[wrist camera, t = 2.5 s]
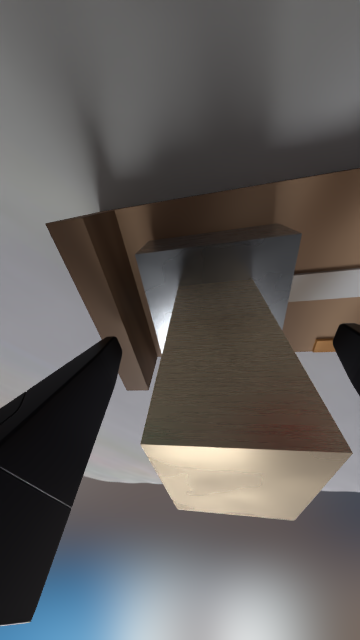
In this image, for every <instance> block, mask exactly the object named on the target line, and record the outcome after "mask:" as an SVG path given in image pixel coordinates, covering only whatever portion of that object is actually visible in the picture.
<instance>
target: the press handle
mask: <svg viewBox="0 0 360 640" xmlns="http://www.w3.org/2000/svg"><path fill="white" fill-rule="evenodd" d="M301 236H302V233H300V232H298V231H295V230H293V229H291V228H288V227H286V226H284V225H281V224H279V223H276V224H269V225H261V226H254V227H247V228H239V229H232V230H225V231H218V232H210V233H203V234H196V235H188V236H181V237H174V238H166V239H159V240H152V241H148V242H147V243H146V244H145V245H144V246H143V247H142V248H141V249H140V250H139V251H138V252H137V253H136V254H135V257H136V261H137V264H138V268H139V272H140V275H141V279H142V283H143V286H144V290H145V294H146V298H147V301H148V305H149V309H150V312H151V316H152V320H153V323H154V327H155V331H156V334H157V338H158V342H159V345H160V349H161V353H162V356H161V361H160V365H159V369H158V373H157V377H156V381H155V386H154V390H153V394H152V398H151V402H150V406H149V411H148V415H147V419H146V423H145V427H144V432H143V436H142V440H141V446H142V448H143V450H144V451H145V453H146V455H147V457H148V458H149V460H150V462H151V464H152V465H153V467H154V469H155V471H156V472H157V474H158V476H159V478H160V479H161V481H162V483H163V485H164V486H165V488H166V489H167V491H168V493H169V495H170V497H171V498H172V500H173V502H174V504H175V505H176V507H177V509H179V510H190V511H200V512H210V513H221V514H231V515H242V516H253V517H263V518H273V519H284V520H295V519H296V518H297V517H298V516H299V515H300V513H301V512H302V511H303V510H304V509H305V508H306V506H307V505H308V504H309V503H310V502H311V501H312V500H313V499H314V497H315V496H316V495H317V494H318V493H319V492H320V490H321V489H322V488H323V487H324V486H325V485H326V484H327V482H328V481H329V480H330V479H331V478H332V477H333V476H334V474H335V473H336V472H337V471H338V470H339V469H340V467H341V466H342V465H343V464H344V463H345V462H346V461H347V459H348V458H349V457H350V456H351V455H352V454H353V453H352V451H351V449H350V447H349V446H348V444H347V442H346V440H345V439H344V437H343V435H342V433H341V432H340V430H339V428H338V426H337V425H336V423H335V421H334V420H333V418H332V416H331V414H330V413H329V411H328V409H327V407H326V406H325V404H324V402H323V400H322V399H321V397H320V395H319V394H318V392H317V390H316V388H315V387H314V385H313V383H312V381H311V380H310V378H309V376H308V374H307V373H306V371H305V369H304V368H303V366H302V364H301V362H300V361H299V359H298V357H297V355H296V354H295V352H294V350H293V348H292V347H291V345H290V343H289V341H288V340H287V338H286V336H285V335H284V333H283V331H282V329H283V325H284V320H285V315H286V310H287V305H288V300H289V295H290V290H291V285H292V280H293V275H294V270H295V266H296V261H297V256H298V251H299V246H300V241H301Z"/></svg>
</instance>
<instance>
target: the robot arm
mask: <svg viewBox="0 0 360 640" xmlns="http://www.w3.org/2000/svg"><path fill="white" fill-rule="evenodd" d="M333 346H334V349H335V351H336V353H337V355H338V357H339V359H340V361H341V363H342V365H343V367H344V369H345V371H346V373H347V375H348V377H349V379H350V381H351V383H352V384H353V386H354V388H355V389H356V391H357V393H358V394H359V396H360V325H359V324H356V323H342V324H340V325H339V326H338V329H337V331H336V334H335V336H334V338H333ZM121 358H122V348H121V346H120V343H119V341H118V339H117V337H115V336H108V337H105V338H104V339H102V340H101V341H99V342H98V343H96V344H95V345H94V346H92V347H91V348H89V349H88V350H86V351H85V352H83V353H82V354H80V355H79V356H77V357H76V358H74V359H73V360H71V361H70V362H68V363H67V364H65V365H64V366H63V367H61V368H60V369H58V370H57V371H55V372H54V373H52V374H51V375H49V376H48V377H46V378H45V379H43V380H42V381H40V382H39V383H37V384H36V385H35V386H33V387H32V388H30V389H29V390H27V392H24V393H23V394H21V395H20V396H18V397H17V398H15V399H14V400H12V401H11V402H9V403H8V404H6V405H5V406H3V407H2V408H0V626H6V625H14V624H22V623H29V622H31V620H32V617H33V615H34V612H35V610H36V607H37V604H38V601H39V599H40V596H41V593H42V590H43V587H44V585H45V582H46V579H47V576H48V573H49V571H50V567H51V565H52V562H53V559H54V556H55V554H56V551H57V548H58V545H59V542H60V540H61V537H62V534H63V531H64V528H65V525H66V523H67V520H68V517H69V514H70V511H71V507H72V505H73V502H74V499H75V497H76V494H77V491H78V488H79V485H80V483H81V480H82V477H83V474H84V471H85V468H86V466H87V463H88V460H89V457H90V454H91V452H92V449H93V446H94V443H95V440H96V437H97V435H98V432H99V429H100V426H101V423H102V420H103V418H104V415H105V412H106V409H107V406H108V404H109V401H110V398H111V395H112V392H113V389H114V386H115V383H116V379H117V375H118V371H119V367H120V362H121Z"/></svg>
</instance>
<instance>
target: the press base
mask: <svg viewBox="0 0 360 640" xmlns="http://www.w3.org/2000/svg"><path fill="white" fill-rule="evenodd" d="M276 223H279V224H281V225H284V226H286V227H288V228H291V229H293V230H295V231H298V232H300V233H302V236H301V241H300V246H299V251H298V256H297V261H296V266H295V270H294V275H293V280H292V285H291V290H290V295H289V300H288V305H287V310H286V315H285V320H284V325H283V329H282V331H283V333H284V335H285V336H286V338H287V340H288V341H289V343H290V345H291V347H292V348H293V350H294V352H306V351H313V352H336V351H335V349H334V346H333V338H334V336H335V334H336V331H337V329H338V326H339V325H340V324H342V323H356V324H359V325H360V168H356V169H350V170H344V171H338V172H332V173H326V174H321V175H315V176H309V177H303V178H297V179H291V180H285V181H279V182H273V183H268V184H262V185H256V186H250V187H244V188H238V189H232V190H226V191H220V192H214V193H209V194H203V195H197V196H191V197H185V198H179V199H173V200H167V201H161V202H155V203H150V204H144V205H138V206H132V207H126V208H120V209H114V210H108V211H102V212H97V213H92V214H88V215H83V216H78V217H74V218H69V219H64V220H60V221H55V222H50V223H46V226H47V228H48V230H49V232H50V234H51V236H52V238H53V240H54V243H55V245H56V247H57V249H58V251H59V253H60V255H61V257H62V259H63V261H64V263H65V265H66V267H67V269H68V271H69V273H70V275H71V277H72V279H73V281H74V283H75V285H76V287H77V290H78V292H79V294H80V296H81V298H82V300H83V302H84V304H85V306H86V308H87V310H88V312H89V314H90V316H91V318H92V320H93V322H94V324H95V326H96V328H97V330H98V332H99V334H100V337H101V339H104V338H105V337H108V336H115V337H117V339H118V341H119V343H120V346H121V348H122V358H121V362H120V367H119V371H118V373H119V375H120V377H121V379H122V381H123V384H124V386H125V388H126V390H149V387H150V383H151V379H152V375H153V372H154V368H155V364H156V360H157V357H161V356H162V353H161V349H160V345H159V342H158V338H157V334H156V331H155V327H154V323H153V320H152V316H151V312H150V309H149V305H148V301H147V298H146V294H145V290H144V286H143V283H142V279H141V275H140V272H139V268H138V264H137V261H136V257H135V254H136V253H137V252H138V251H139V250H140V249H141V248H142V247H143V246H144V245H145V244H146V243H147V242H148V241H152V240H159V239H166V238H174V237H181V236H188V235H196V234H203V233H210V232H218V231H225V230H232V229H239V228H247V227H254V226H261V225H269V224H276Z"/></svg>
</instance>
